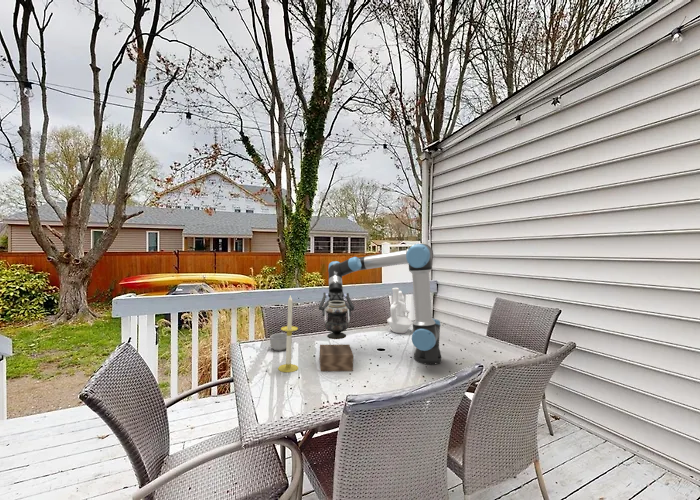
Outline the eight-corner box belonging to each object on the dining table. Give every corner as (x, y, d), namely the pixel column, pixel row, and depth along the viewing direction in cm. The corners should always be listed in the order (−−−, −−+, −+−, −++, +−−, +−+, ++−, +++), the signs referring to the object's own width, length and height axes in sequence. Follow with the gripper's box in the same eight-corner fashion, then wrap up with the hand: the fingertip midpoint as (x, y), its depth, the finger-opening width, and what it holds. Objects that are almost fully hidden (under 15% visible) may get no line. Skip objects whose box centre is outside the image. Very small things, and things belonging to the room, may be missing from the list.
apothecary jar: (353, 335, 180) (353, 301, 178) (337, 341, 171) (337, 305, 169) (336, 331, 188) (336, 298, 186) (320, 336, 178) (319, 302, 177)
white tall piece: (416, 332, 245) (419, 287, 244) (398, 338, 230) (400, 290, 228) (396, 326, 258) (398, 284, 256) (377, 332, 242) (379, 286, 241)
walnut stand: (348, 358, 189) (349, 344, 189) (352, 370, 173) (353, 355, 173) (319, 359, 187) (319, 344, 187) (320, 371, 171) (321, 355, 171)
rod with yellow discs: (289, 374, 166) (291, 296, 164) (273, 369, 171) (275, 294, 169) (302, 367, 175) (304, 294, 173) (287, 363, 180) (289, 291, 178)
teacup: (284, 353, 194) (284, 339, 194) (266, 351, 196) (266, 337, 196) (293, 345, 208) (293, 332, 207) (276, 343, 210) (276, 330, 209)
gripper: (355, 290, 195) (358, 325, 181) (313, 289, 192) (313, 324, 177) (357, 282, 189) (360, 317, 175) (314, 281, 186) (314, 317, 172)
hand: (337, 321), depth 176 cm, fingers closed on apothecary jar, 11 cm apart
